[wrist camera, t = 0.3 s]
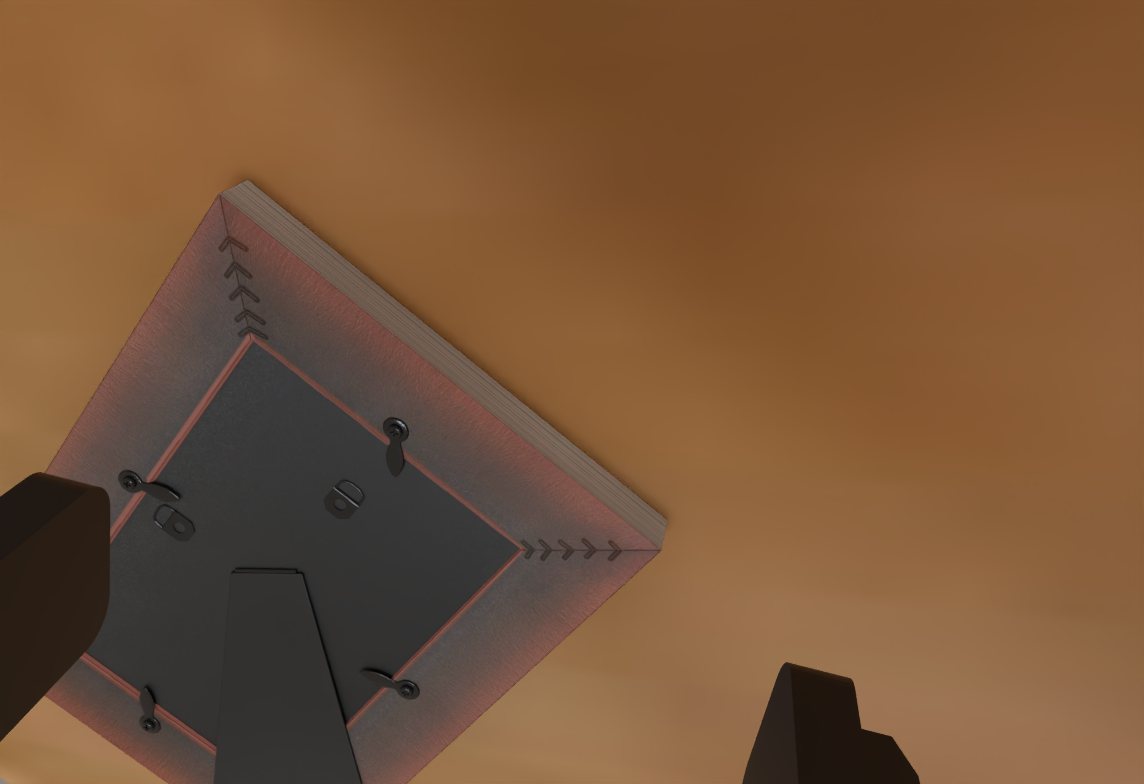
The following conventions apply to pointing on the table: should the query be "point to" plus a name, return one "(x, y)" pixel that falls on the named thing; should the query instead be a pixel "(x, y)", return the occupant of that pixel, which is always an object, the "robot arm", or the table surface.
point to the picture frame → (321, 523)
